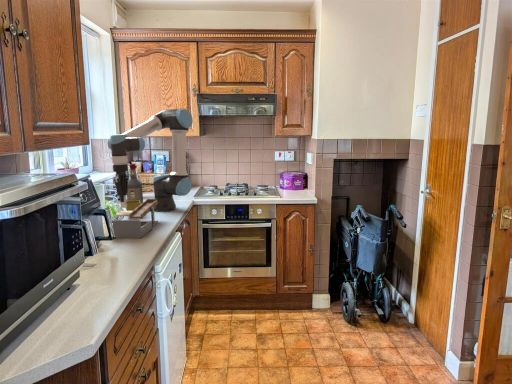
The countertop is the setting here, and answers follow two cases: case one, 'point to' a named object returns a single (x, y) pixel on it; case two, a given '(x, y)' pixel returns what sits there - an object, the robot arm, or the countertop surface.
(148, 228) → the bin
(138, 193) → the liquor
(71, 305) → the countertop surface
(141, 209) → the wooden chute
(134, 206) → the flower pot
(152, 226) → the stand
